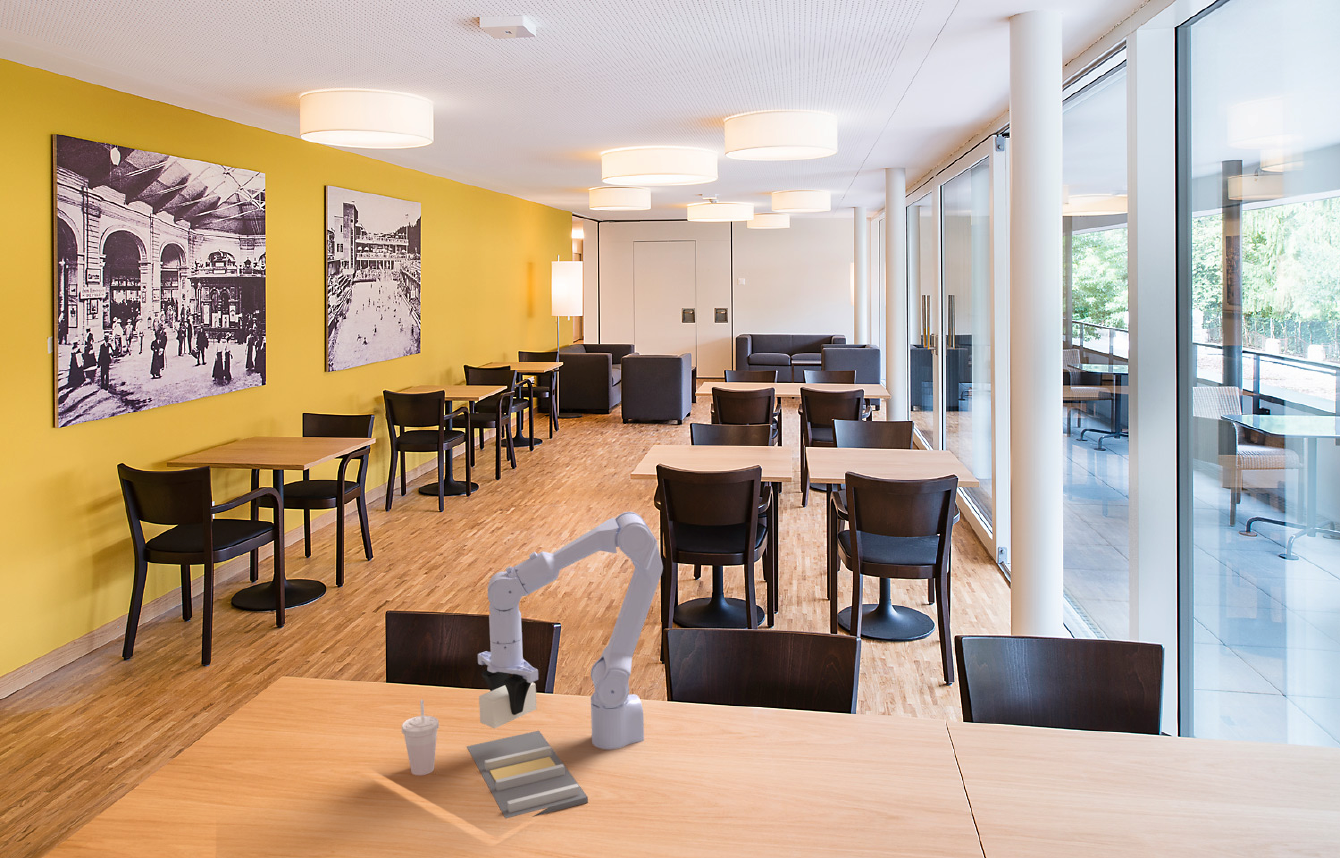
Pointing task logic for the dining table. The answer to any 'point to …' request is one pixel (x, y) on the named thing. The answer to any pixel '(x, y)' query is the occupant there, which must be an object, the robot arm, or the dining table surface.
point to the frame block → (503, 706)
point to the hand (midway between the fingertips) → (509, 709)
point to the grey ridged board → (526, 775)
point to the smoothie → (421, 742)
